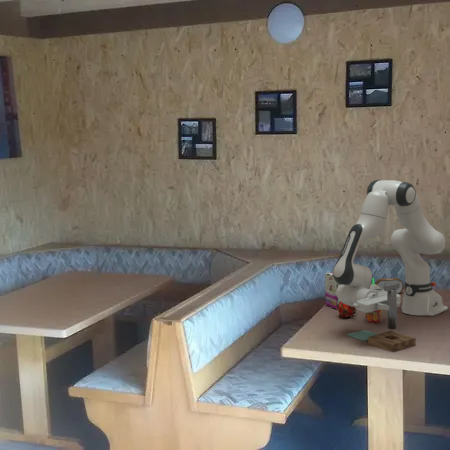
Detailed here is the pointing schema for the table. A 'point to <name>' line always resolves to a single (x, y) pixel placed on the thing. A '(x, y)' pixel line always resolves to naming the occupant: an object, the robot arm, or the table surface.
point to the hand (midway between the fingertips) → (393, 306)
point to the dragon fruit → (345, 310)
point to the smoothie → (375, 315)
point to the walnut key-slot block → (392, 341)
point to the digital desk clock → (388, 281)
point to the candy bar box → (331, 291)
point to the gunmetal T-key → (392, 304)
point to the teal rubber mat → (362, 335)
